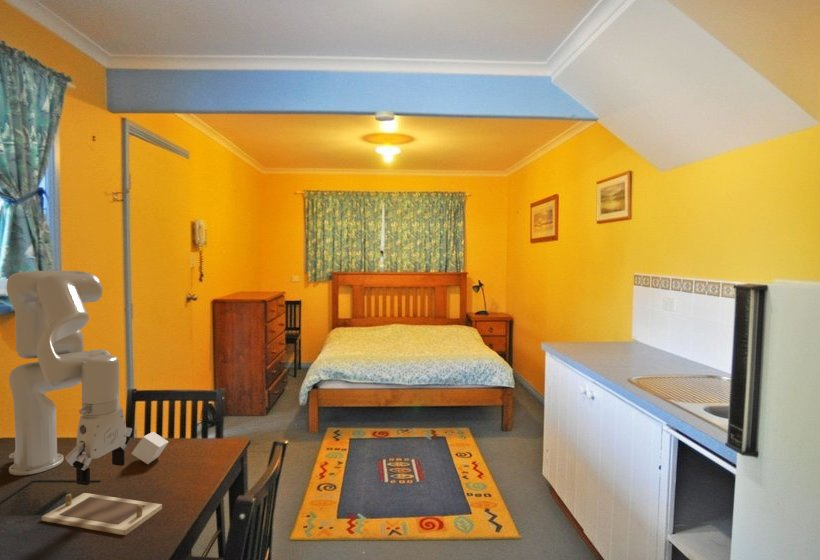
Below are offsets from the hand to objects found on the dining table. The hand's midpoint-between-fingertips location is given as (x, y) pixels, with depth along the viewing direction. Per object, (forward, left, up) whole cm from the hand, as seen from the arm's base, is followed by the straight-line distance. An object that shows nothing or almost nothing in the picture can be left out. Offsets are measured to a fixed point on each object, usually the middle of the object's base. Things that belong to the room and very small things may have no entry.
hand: (101, 474), depth 109 cm
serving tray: (+1, 0, -10) cm, 10 cm away
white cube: (-10, +27, -10) cm, 31 cm away
